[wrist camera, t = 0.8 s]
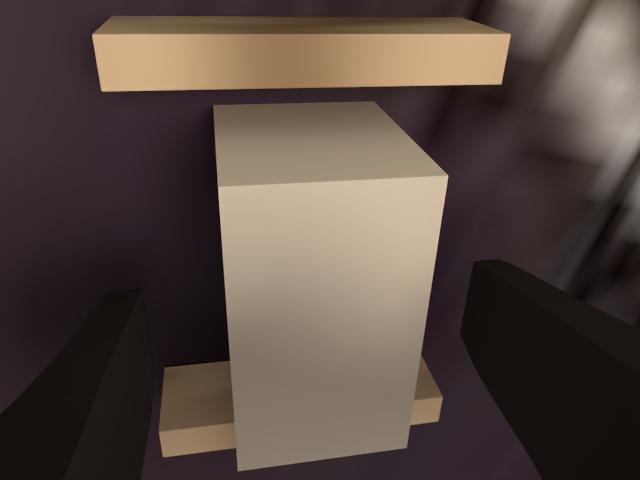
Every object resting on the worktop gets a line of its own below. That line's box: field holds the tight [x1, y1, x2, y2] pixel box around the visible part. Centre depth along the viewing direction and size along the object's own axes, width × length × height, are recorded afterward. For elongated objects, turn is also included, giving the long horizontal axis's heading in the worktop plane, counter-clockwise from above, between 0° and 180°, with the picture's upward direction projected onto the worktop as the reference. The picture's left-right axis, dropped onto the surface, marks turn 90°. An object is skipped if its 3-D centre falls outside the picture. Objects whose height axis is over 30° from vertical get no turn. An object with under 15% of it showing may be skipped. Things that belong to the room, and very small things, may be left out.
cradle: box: [92, 16, 511, 457], centre depth 14 cm, size 8×11×2 cm
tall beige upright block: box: [213, 101, 448, 471], centre depth 13 cm, size 4×8×5 cm, turn 179°
